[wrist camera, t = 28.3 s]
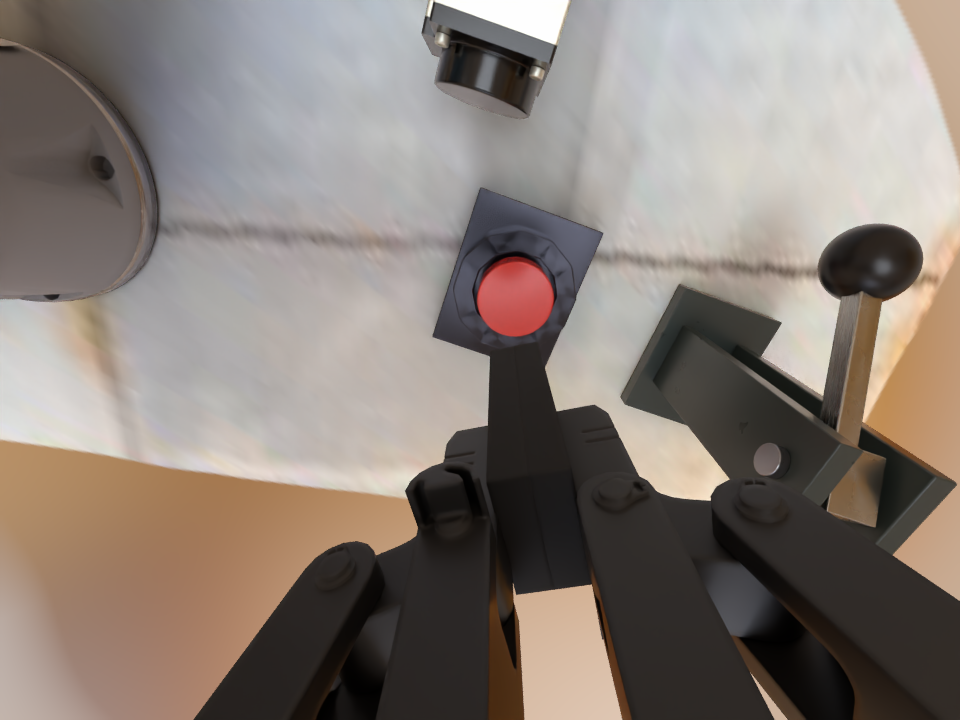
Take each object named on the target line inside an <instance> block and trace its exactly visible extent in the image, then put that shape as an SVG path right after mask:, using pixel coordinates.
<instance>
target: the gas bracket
mask: <svg viewBox="0 0 960 720" xmlns="http://www.w3.org/2000/svg"><path fill="white" fill-rule="evenodd" d="M781 324H782V323H781V322H779V321H777V320H775V319H773V318H770V317H768V316H765V315H762V314H760V313H757V312H754V311H751V310H749V309H746V308H743V307H741V306H738V305H735V304H732V303H730V302H727V301H724V300H721V299H719V298H716V297H713V296H711V295H708V294H705V293H702V292H700V291H697V290H694V289H692V288H689V287H686V286H683V285H681V284H680V285H679V286H678V288H677V290H676V292H675V294H674V296H673V298H672V300H671V302H670V304H669V306H668V307H667V309H666V311H665V313H664V315H663V317H662V319H661V321H660V323H659V325H658V327H657V329H656V330H655V332H654V334H653V336H652V338H651V340H650V342H649V344H648V346H647V348H646V350H645V352H644V353H643V355H642V357H641V359H640V361H639V363H638V365H637V367H636V369H635V371H634V373H633V375H632V376H631V378H630V380H629V382H628V384H627V386H626V388H625V390H624V392H623V394H622V396H621V399H622V400H623V402H624V404H625V405H628V406H631V407H634V408H637V409H640V410H643V411H646V412H649V413H652V414H655V415H658V416H661V417H664V418H667V419H670V420H673V421H676V422H678V423H681V424H684V425H687V426H688V427H689V428H690V429H691V431H692V432H693V433H694V434H695V436H696V437H697V438H698V439H699V441H700V442H701V443H702V444H703V446H704V447H705V448H706V450H707V451H708V452H709V453H710V455H711V456H712V457H713V458H714V460H715V461H716V462H717V463H718V465H719V466H720V467H721V468H722V470H723V471H724V472H725V474H726V475H727V476H728V477H729V479H730V480H732V479H737V478H743V477H751V478H764V479H768V480H772V481H776V482H780V483H783V484H785V485H787V486H789V487H791V488H793V489H795V490H797V491H798V492H800V493H801V494H803V495H804V496H806V497H807V498H809V499H810V500H812V501H813V502H815V503H816V504H818V505H819V506H821V505H822V504H823V502H824V501H825V500H826V498H827V497H828V496H829V495H830V493H831V492H832V491H833V490H834V488H835V487H836V486H837V485H838V483H839V482H840V481H841V480H842V478H843V477H844V476H845V475H846V473H847V472H848V471H849V470H850V468H851V467H852V466H853V465H854V463H855V462H856V461H857V460H858V458H859V457H860V456H861V455H862V453H863V450H864V451H867V452H870V453H873V454H875V455H878V456H881V457H884V458H886V464H885V470H884V477H883V483H882V490H881V496H880V503H879V509H878V516H877V522H876V527H874V528H873V527H869V526H865V525H861V524H857V523H853V522H848V521H844V520H841V521H843V522H844V523H846V524H847V525H848V526H850V527H851V528H853V529H854V530H856V531H857V532H859V533H860V534H862V535H863V536H865V537H866V538H868V539H869V540H871V541H872V542H873V543H875V544H876V545H878V546H879V547H881V548H882V549H884V550H885V551H887V552H888V553H890V554H891V555H893V554H894V553H895V552H896V551H897V550H898V548H899V547H900V546H901V545H902V544H903V543H904V542H905V541H906V540H907V539H908V537H909V536H910V535H911V534H912V533H913V532H914V531H915V530H916V529H917V528H918V527H919V526H920V525H921V523H922V522H923V521H924V520H925V519H926V518H927V517H928V516H929V515H930V514H931V513H932V512H933V510H934V509H935V508H936V507H937V506H938V505H939V504H940V503H941V502H942V501H943V500H944V499H945V498H946V496H947V495H948V494H949V493H950V492H951V491H952V490H953V489H954V488H955V487H956V486H957V484H956V482H955V481H953V480H952V479H950V478H948V477H947V476H945V475H944V474H942V473H941V472H939V471H938V470H936V469H934V468H933V467H931V466H930V465H928V464H927V463H925V462H924V461H922V460H921V459H919V458H917V457H916V456H914V455H913V454H911V453H910V452H908V451H907V450H905V449H903V448H902V447H900V446H899V445H897V444H895V443H894V442H893V441H891V440H890V439H888V438H886V437H885V436H883V435H882V434H880V433H879V432H877V431H876V430H874V429H873V428H871V427H869V426H868V425H866V424H865V423H863V422H862V425H861V431H860V437H859V443H858V447H857V446H856V445H855V444H853V443H852V442H851V441H849V440H848V439H846V438H845V437H844V436H842V435H841V434H840V433H838V432H837V431H835V430H834V429H833V428H831V427H830V426H828V425H827V424H826V423H824V422H823V421H822V420H820V419H819V417H820V411H821V406H822V401H823V396H821V395H820V394H818V393H817V392H815V391H814V390H812V389H811V388H809V387H807V386H806V385H804V384H803V383H801V382H800V381H798V380H797V379H795V378H794V377H792V376H790V375H789V374H787V373H786V372H784V371H783V370H781V369H780V368H778V367H776V366H775V365H773V364H772V363H770V362H769V361H767V360H766V359H764V358H763V357H761V355H762V354H763V352H764V351H765V349H766V347H767V346H768V344H769V343H770V341H771V340H772V338H773V336H774V335H775V333H776V332H777V330H778V328H779V327H780V325H781Z"/></svg>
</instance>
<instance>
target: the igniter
mask: <svg viewBox="0 0 960 720" xmlns="http://www.w3.org/2000/svg"><path fill="white" fill-rule="evenodd" d="M553 304H554V293H553V288H552V285H551V283H550V281H549V279H548V277H547V275H546V273H545V272H544V271H543V269H542V268H541V267H540V266H539V265H538V264H536V263H535V262H533V261H532V260H529V259H527V258H524V257H507V258H503V259H501V260H498V261H497V262H495V263H494V264H492V265H491V266H490V267H489V268H488V269H487V270H486V272H485V273H484V275H483V276H482V279H481V281H480V284H479V289H478V295H477V305H478V309H479V313H480V315H481V317H482V319H483V320H484V322H485V323H486V324H487V325H488V326H489V327H490V328H491V329H493V330H494V331H496V332H498V333H500V334H502V335H506V336H516V337H517V336H523V335H527V334H530V333H532V332H534V331H536V330H537V329H539V328H540V327H541V326H542V325H543V324H544V323H545V322H546V321H547V319H548V318H549V316H550V314H551V311H552V308H553Z"/></svg>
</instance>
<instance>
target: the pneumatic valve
mask: <svg viewBox="0 0 960 720" xmlns="http://www.w3.org/2000/svg"><path fill="white" fill-rule="evenodd" d="M571 1H572V0H429V1H428V5H427V10H426V15H425V19H424V24H423V29H422V33H421V34H422V36H423V38H424V40H425V41H426V43H427V45H428V47H429V49H430V51H431V53H432V55H434V56H437V57H440V60H439V64H438V68H437V73H436V77H435V85H436V87H437V88H439V89H440V90H441V91H443V92H444V93H446V94H448V95H450V96H452V97H454V98H456V99H458V100H460V101H462V102H465V103H467V104H469V105H472V106H475V107H477V108H480V109H483V110H486V111H489V112H492V113H495V114H499V115H503V116H506V117H511V118H517V119H526V118H528V117H529V116H530V113H531V110H532V106H533V103H534V100H535V97H536V96H537V97H538V96H539V93H540V91H541V88H542V86H543V84H544V81H545V79H546V77H547V74H548V72H549V69H550V67H551V65H552V61H553V58H554V55H555V52H556V49H557V45H558V42H559V39H560V36H561V33H562V29H563V26H564V23H565V20H566V17H567V13H568V10H569V7H570V4H571Z"/></svg>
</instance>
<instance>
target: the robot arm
mask: <svg viewBox="0 0 960 720" xmlns="http://www.w3.org/2000/svg"><path fill="white" fill-rule="evenodd" d="M156 228H157V200H156V192H155V188H154V183H153V179H152V175H151V172H150V169H149V166H148V163H147V161H146V158H145V156H144V153H143V151H142V149H141V147H140V145H139V143H138V141H137V139H136V138H135V136H134V134H133V132H132V131H131V129H130V128H129V126H128V125H127V123H126V122H125V120H124V119H123V117H122V116H121V115H120V113H119V112H118V111H117V110H116V108H115V107H114V106H113V105H112V103H111V102H110V101H109V100H108V99H107V98H106V97H105V96H104V95H103V94H102V93H101V92H100V91H99V90H98V89H97V88H96V87H95V86H94V85H93V84H92V83H91V82H89V81H88V80H87V79H86V78H85V77H83V76H82V75H81V74H80V73H78V72H77V71H75V70H74V69H72V68H71V67H70V66H68V65H66V64H65V63H63V62H61V61H60V60H58V59H56V58H54V57H52V56H50V55H48V54H46V53H44V52H42V51H39V50H36V49H34V48H31V47H28V46H25V45H22V44H19V43H15V42H12V41H9V40H5V39H2V38H0V299H23V300H29V301H40V302H60V301H73V300H79V299H84V298H88V297H92V296H95V295H99V294H103V293H106V292H109V291H112V290H114V289H116V288H118V287H120V286H122V285H123V284H125V283H126V282H127V281H129V280H130V279H131V278H132V277H133V276H134V275H135V274H136V273H137V272H138V271H139V270H140V269H141V267H142V266H143V265H144V263H145V261H146V259H147V258H148V256H149V253H150V251H151V249H152V246H153V242H154V239H155V234H156ZM405 492H406V495H407V498H408V500H409V503H410V506H411V509H412V512H413V514H414V517H415V520H416V523H417V526H418V531H417V536H416V537H414V538H413V539H411V540H410V541H408V542H406V543H404V544H402V545H400V546H398V547H396V548H393V549H391V550H389V551H386V552H384V553H381V554H379V555H375V552H374V551H373V549H372V548H371V547H370V546H369V545H368V544H365V543H362V542H357V541H355V542H348V543H342V544H340V545H337V546H335V547H332V548H330V549H328V550H327V551H325V552H324V553H322V554H321V555H319V556H318V557H316V558H315V559H314V560H313V561H312V563H311V564H310V565H309V566H308V567H307V568H306V569H305V570H304V571H303V573H302V574H301V575H300V577H299V578H298V580H297V581H296V582H295V584H294V585H293V586H292V588H291V589H290V590H289V592H288V593H287V594H286V596H285V597H284V598H283V600H282V601H281V602H280V604H279V605H278V606H277V608H276V609H275V610H274V612H273V613H272V615H271V616H270V617H269V619H268V620H267V621H266V623H265V624H264V625H263V627H262V628H261V630H260V631H259V632H258V634H257V635H256V636H255V638H254V639H253V640H252V642H251V643H250V644H249V646H248V647H247V648H246V650H245V651H244V652H243V654H242V655H241V656H240V658H239V659H238V660H237V662H236V663H235V664H234V666H233V667H232V668H231V670H230V671H229V673H228V674H227V675H226V677H225V678H224V679H223V681H222V682H221V683H220V685H219V686H218V687H217V689H216V690H215V692H214V693H213V694H212V696H211V697H210V698H209V700H208V701H207V702H206V704H205V705H204V706H203V708H202V709H201V710H200V712H199V713H198V714H197V716H196V717H195V718H194V720H524V705H523V687H522V670H521V669H522V668H521V651H520V634H519V620H518V616H517V613H516V609H515V605H514V602H513V584H514V588H515V591H516V595H518V594H526V593H533V592H540V591H547V590H555V589H562V588H569V587H576V586H584V585H591V584H592V587H593V592H594V597H595V603H596V608H597V613H598V619H599V625H600V630H601V635H602V639H604V643H605V646H606V651H607V656H608V659H609V663H610V668H611V673H612V677H613V681H614V685H615V690H616V694H617V698H618V702H619V706H620V711H621V715H622V719H623V720H774V718H773V716H772V714H771V712H770V710H769V708H768V706H767V704H766V702H765V701H764V699H763V697H762V695H761V693H760V691H759V689H758V687H757V685H756V683H755V681H754V679H753V677H752V675H753V676H754V677H755V678H756V680H757V681H758V682H759V684H760V685H761V686H762V687H763V689H764V690H765V691H766V693H767V694H768V695H769V696H770V698H771V699H772V700H773V701H774V703H775V704H776V705H777V707H778V708H779V709H780V710H781V712H782V713H783V714H784V715H785V717H786V718H787V719H788V720H960V601H958V600H957V599H956V598H954V597H953V596H951V595H950V594H948V593H947V592H946V591H944V590H943V589H941V588H940V587H938V586H937V585H935V584H934V583H932V582H931V581H929V580H928V579H926V578H925V577H923V576H922V575H921V574H919V573H917V572H916V571H915V570H913V569H912V568H910V567H909V566H907V565H906V564H904V563H903V562H901V561H900V560H898V559H897V558H895V557H894V556H893V555H891V554H890V553H888V552H887V551H885V550H884V549H882V548H881V547H879V546H878V545H876V544H875V543H873V542H872V541H871V540H869V539H868V538H866V537H865V536H863V535H862V534H860V533H859V532H857V531H856V530H854V529H853V528H851V527H850V526H848V525H847V524H846V523H844V522H843V521H841V520H840V519H838V518H837V517H835V516H834V515H832V514H831V513H829V512H828V511H826V510H825V509H823V508H822V507H821V506H819V505H818V504H816V503H815V502H813V501H812V500H810V499H809V498H807V497H806V496H804V495H803V494H801V493H800V492H798V491H797V490H795V489H793V488H791V487H789V486H787V485H785V484H783V483H780V482H776V481H772V480H768V479H764V478H751V477H743V478H737V479H732V480H728V481H726V482H724V483H722V484H721V485H719V486H717V487H716V488H715V490H714V492H713V493H712V495H711V501H704V500H689V499H681V498H674V497H670V496H667V495H664V494H661V493H659V492H657V491H656V490H655V489H654V488H653V486H652V485H651V484H650V483H649V482H648V481H647V480H645V479H643V478H641V477H639V475H638V473H637V471H636V469H635V467H634V465H633V463H632V461H631V459H630V457H629V455H628V453H627V451H626V449H625V447H624V445H623V443H622V441H621V439H620V438H619V435H618V432H617V430H616V428H614V424H613V422H612V420H611V418H610V416H609V414H608V413H607V412H605V411H604V410H602V409H601V408H599V407H597V406H596V405H590V406H584V407H579V408H574V409H568V410H563V411H557V412H556V408H555V405H554V401H553V397H552V393H551V390H550V386H549V382H548V378H547V375H546V371H545V367H544V363H543V360H542V356H541V352H540V349H539V345H538V341H537V342H532V343H527V344H522V345H517V346H513V347H508V348H503V349H498V350H493V351H490V377H489V408H488V426H484V427H478V428H473V429H467V430H462V431H457V432H456V433H455V434H454V436H453V437H452V438H451V439H450V441H449V442H448V443H447V446H446V451H445V459H444V462H443V463H441V464H438V465H434V466H432V467H430V468H428V469H426V470H424V471H422V472H421V473H419V474H418V475H417V476H416V477H415V478H414V479H413V480H411V481H410V483H409V485H408V487H407V489H406V490H405ZM750 672H751V673H750ZM751 674H752V675H751Z"/></svg>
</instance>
